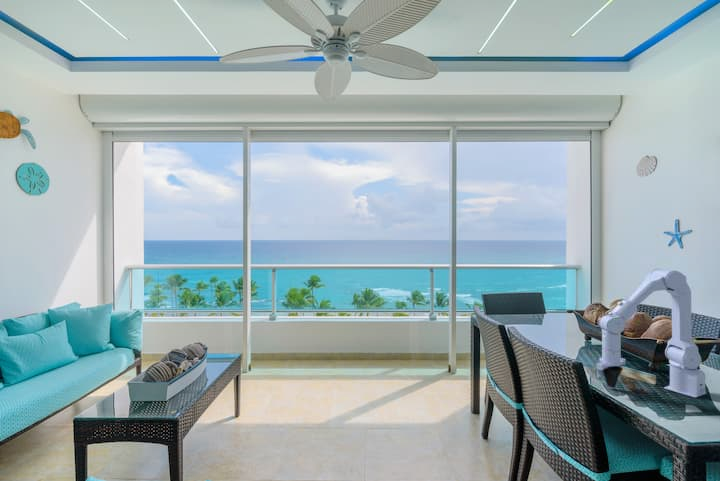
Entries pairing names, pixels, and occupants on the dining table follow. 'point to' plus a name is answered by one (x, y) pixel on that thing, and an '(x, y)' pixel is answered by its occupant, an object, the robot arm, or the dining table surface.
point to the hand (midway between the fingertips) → (611, 386)
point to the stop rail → (638, 375)
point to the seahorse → (629, 384)
